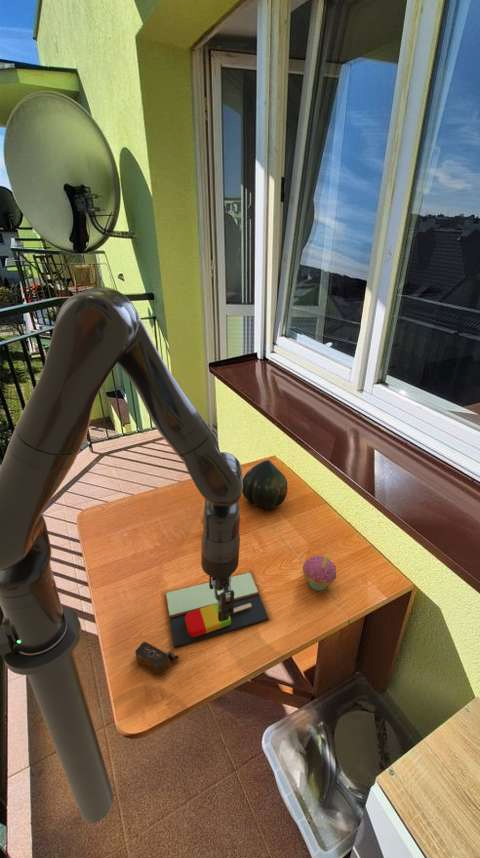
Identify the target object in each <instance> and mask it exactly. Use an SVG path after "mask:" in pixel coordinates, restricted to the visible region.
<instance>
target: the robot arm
mask: <svg viewBox="0 0 480 858" xmlns="http://www.w3.org/2000/svg"><path fill="white" fill-rule="evenodd" d="M134 305H135V304H133V302H132V300H130V298H129V297H127V296H126V295H125V294H124V293H122V292H121V291H119V290H117V289H114V288H112V287H107V286H94V287H91V288H88V289H86V290H82V291H80V292H77V293H75V294H73V295H72V296H70V297H69V298H67V300H65V302H64V303H63V304H62V305H61V307H60V309H59V311H58V313H57V316H56V319H55V321H54V322H55V323H54V325H53V330H52V334H51V338H50V342H49V346H48V350H47V353H46V358H45V360H44V365H43V368H42V371H41V374H40V377H39V379H38V381H37V383H36V384H35V386H34V388H33V390H32V392H31V393H30V395H29V397H28V399H27V401H26V404H25V406H24V408H23V410H22V413H21V414H20V416H19V418H18V420H17V423H16V425H15V428H14V430H13V432H12V435H11V437H10V439H9V443H8V445H7V448H6V451H5V454H4V457H3V460H2V462H1V465H0V608H1V611H2V613H3V618H2V622H1V624H0V656H2V655H3V654H7V653H11V652H12V651H13V654H14V655H17V654H21V655H23V656H27V657H34V656H39V655H42V654H45V653H47V652H49V651H50V650H52V649H54V648H55V647H56V646H57V645H58V644H59V643H60V642H61V641H62V640H63V638H64V637H65V635H66V633H67V628H68V626H67V622H66V619H65V616H64V613H63V609H62V606H63V605H62V602H61V598H60V594H59V591H58V588H57V583H56V580H55V576H54V572H53V568H52V566H51V559H52V546H51V541H50V537H49V530H48V527H47V523H46V520H45V517H44V515H43V511H44V509H45V507H46V506H47V505H48V504H49V502H50V501H51V499H52V498H53V496H54V495H55V494H56V492H57V490H58V489H59V488H60V487H61V485H62V483H63V482H64V480H65V479H66V477H67V475H68V474H69V472H70V470H71V469H72V467H73V466H74V464H75V461H76V460H77V457H78V455H79V453H80V452H81V449H82V447H83V444H84V442H85V440H86V438H87V435H88V432H89V431H88V430H89V427H90V423H91V418H92V413H93V408H94V404H95V401H96V399H97V397H98V394H99V392H100V391H101V389H102V387H103V386H104V384H105V382H106V381H107V379H108V377H109V376H110V374H111V373H112V371H113V369H114V368H115V366H116V365H117V366H118V367H119V368H120V369H121V370H122V371H123V373H124V375H125V376H126V377H127V378H128V380H129V381H130V383H131V384H132V385H133V387H134V389H135V390H136V392H137V394H138V396H139V398H140V399H141V402H142V403H143V406H144V408H145V410H146V412H147V414H148V415H149V418H150V419H151V421H152V423H153V425H154V426H155V427H154V428H156V430H157V431H158V432H159V435H161V437H162V438H163V439H164V441H165V442H166V444H168V445H169V447H170V448H171V450H173V451H174V453H175V454H176V455H177V457H179V459H180V460H181V461H182V462H183V464H184V466H185V468H186V470H187V472H188V474H189V476H190V478H191V480H192V481H193V483H194V485H195V487H196V489H197V490H198V492H199V494H200V495H201V496H202V497H203V498H204V507H203V513H202V534H201V542H200V543H201V550H200V551H201V552H200V553H201V554H200V555H201V557H200V558H201V560H200V563H201V570H202V571H203V572H204V573H205V574H206V575H207V576H208V577H209V578H208V583H209V587H210V589H214V597H215V599H216V600H217V602H218V620H219V621H220V622H222V621H226V620H228V619H229V615H230V614H234V591H233V590H231V577H232V575H233V574H234V573H235V572H236V571H237V569H238V567H239V560H240V547H241V546H240V545H241V535H240V526H241V525H240V524H241V511H240V499H241V497H242V495H243V493H242V492H243V478H244V477H243V467H242V464H241V462H240V461H239V459H238V458H237V457H236V456H235V455H233V453H229V452H225V451H220V447H219V442H218V439H217V436H216V434H215V433H214V432H213V430H212V429H211V427H210V426H209V424H208V423H207V422H206V420H205V419H204V418H203V416H202V415H201V413H200V412H199V411H198V410H197V408H196V407H195V406H194V405H193V403H192V402H191V400H190V399H189V398H188V396H187V395H186V393H185V391H184V390H183V388H181V386H180V384H179V383H178V381H177V380H176V379H175V377H174V376H173V374H172V373H171V371H170V369H169V368H168V366H167V365H166V363H165V362H164V359H163V358H162V356H161V355H160V352H159V350H158V349H157V348H156V346H155V344H154V342H153V340H152V338H151V336H150V334H149V332H148V330H147V328H146V326H145V325H144V324H145V323H144V322H143V320H142V319H141V317H140V314H139V312H138V311H137V308H136V307H135V306H134ZM217 590H218V591H221V590H223V592H222V593H221V594H218V593H217Z"/></svg>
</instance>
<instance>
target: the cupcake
mask: <svg viewBox="0 0 480 858" xmlns="http://www.w3.org/2000/svg"><path fill="white" fill-rule="evenodd" d="M329 557H330V556H329V553H327V554H326V555H325V556H323V555H313V556H309V558H307V559H306V560H305V561H304V563H303V565H302V573H303V577H304V579H305V580H306V581H308V585H309V587H310V588H311V589H313V590H314V591H323V590H326V588H327V587H328V586H329V585H331V584H333V583H334V581H335V580H336V579H337V567H336V565H335V563H334V562H332V560H330V559H329Z"/></svg>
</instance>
